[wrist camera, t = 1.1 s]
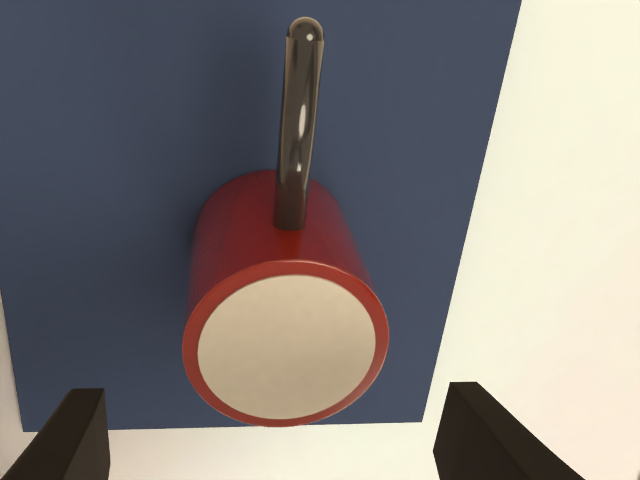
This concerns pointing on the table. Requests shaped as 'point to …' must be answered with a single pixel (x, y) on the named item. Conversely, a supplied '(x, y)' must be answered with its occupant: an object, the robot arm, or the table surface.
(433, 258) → the cloth
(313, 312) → the pot
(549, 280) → the table surface
